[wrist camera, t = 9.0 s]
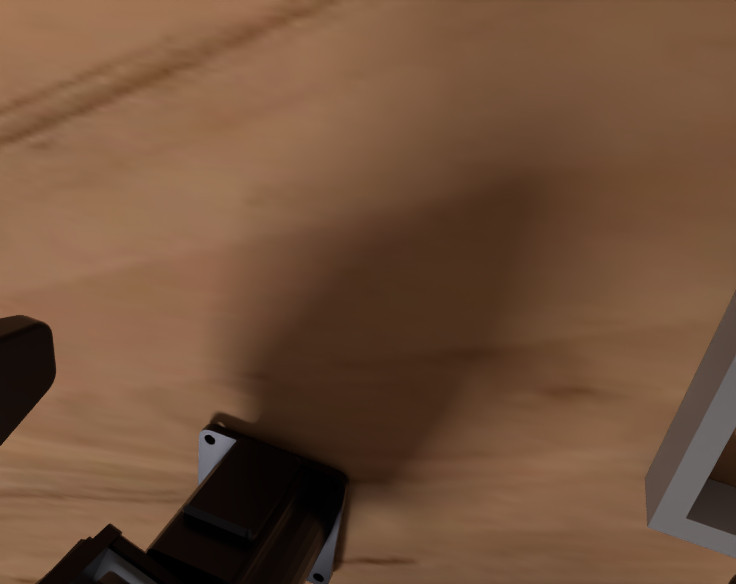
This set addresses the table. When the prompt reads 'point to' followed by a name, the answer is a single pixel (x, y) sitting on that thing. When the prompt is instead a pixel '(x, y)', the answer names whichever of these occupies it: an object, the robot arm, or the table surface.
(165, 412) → the table surface
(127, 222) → the table surface
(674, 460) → the gray rectangular frame
